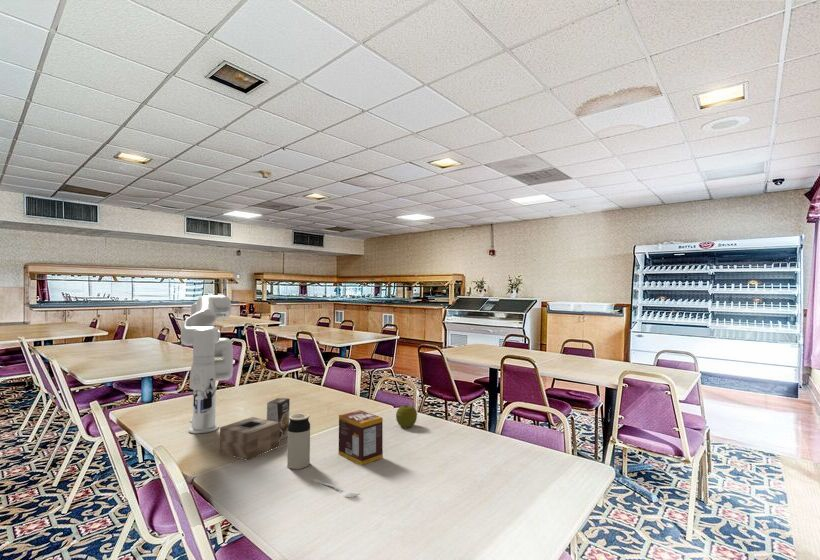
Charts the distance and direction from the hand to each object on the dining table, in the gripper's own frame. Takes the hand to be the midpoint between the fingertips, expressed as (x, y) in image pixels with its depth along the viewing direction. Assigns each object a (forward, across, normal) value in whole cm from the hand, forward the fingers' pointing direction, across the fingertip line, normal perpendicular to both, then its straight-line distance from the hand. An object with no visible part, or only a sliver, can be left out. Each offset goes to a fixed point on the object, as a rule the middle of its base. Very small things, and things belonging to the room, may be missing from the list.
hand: (202, 406), depth 159 cm
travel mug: (+19, +38, +13) cm, 45 cm away
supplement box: (+19, +53, +31) cm, 64 cm away
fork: (+20, +61, +5) cm, 64 cm away
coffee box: (+20, +9, +30) cm, 37 cm away
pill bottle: (+3, 0, 0) cm, 3 cm away
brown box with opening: (+19, +10, +14) cm, 26 cm away
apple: (+19, +52, +71) cm, 90 cm away
